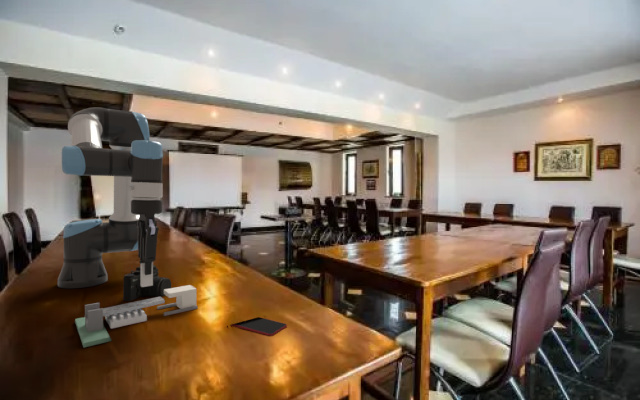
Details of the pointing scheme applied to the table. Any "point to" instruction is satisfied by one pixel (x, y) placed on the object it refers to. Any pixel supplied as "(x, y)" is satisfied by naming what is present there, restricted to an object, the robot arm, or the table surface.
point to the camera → (135, 290)
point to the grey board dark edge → (132, 306)
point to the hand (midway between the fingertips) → (146, 285)
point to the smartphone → (261, 326)
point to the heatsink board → (91, 335)
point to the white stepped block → (182, 296)
